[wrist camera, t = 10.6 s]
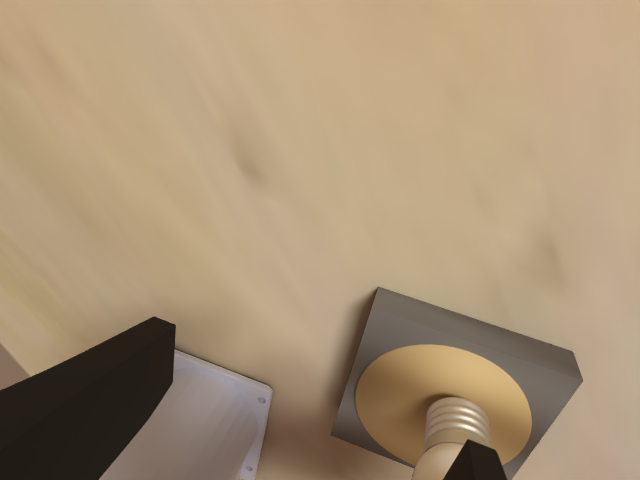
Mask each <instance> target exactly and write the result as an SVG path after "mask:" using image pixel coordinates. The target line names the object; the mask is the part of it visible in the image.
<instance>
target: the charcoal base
mask: <svg viewBox="0 0 640 480" xmlns="http://www.w3.org/2000/svg"><path fill="white" fill-rule="evenodd" d="M582 382H583V379H582V376H581V373H580V370H579V367H578V365H577V362H576V359H575V356H574V353H573V352H572V351H569V350H566V349H563V348H560V347H557V346H554V345H551V344H548V343H545V342H542V341H539V340H536V339H533V338H530V337H527V336H524V335H521V334H518V333H515V332H512V331H509V330H506V329H503V328H500V327H497V326H494V325H491V324H488V323H485V322H482V321H479V320H476V319H473V318H470V317H467V316H464V315H461V314H458V313H455V312H452V311H449V310H446V309H443V308H440V307H437V306H434V305H431V304H428V303H425V302H422V301H419V300H416V299H413V298H410V297H407V296H404V295H401V294H398V293H395V292H392V291H389V290H386V289H383V288H380V287H378V290H377V293H376V296H375V299H374V302H373V305H372V308H371V311H370V314H369V317H368V320H367V323H366V327H365V330H364V333H363V336H362V339H361V342H360V345H359V348H358V351H357V354H356V357H355V360H354V364H353V367H352V370H351V373H350V376H349V379H348V382H347V385H346V388H345V391H344V394H343V397H342V400H341V404H340V407H339V410H338V413H337V416H336V419H335V422H334V425H333V429H332V432H331V435H332V436H334V437H337V438H339V439H342V440H344V441H347V442H349V443H352V444H354V445H357V446H359V447H362V448H364V449H367V450H369V451H372V452H374V453H377V454H379V455H382V456H384V457H387V458H389V459H392V460H394V461H397V462H399V463H402V464H404V465H407V466H409V467H412V468H414V469H415V466H416V464H417V462H418V461H419V459H420V458H421V456H422V455H423V449H424V439H425V430H426V415H427V411H428V408H429V407H430V406H431V405H432V404H433V403H434V402H436V401H437V400H440V399H443V398H449V397H456V398H462V399H466V400H469V401H471V402H473V403H475V404H477V405H478V406H480V407H481V408H482V409H483V410H484V411H485V413H486V414H487V416H488V419H489V427H490V436H491V441H490V442H491V448H492V449H495V450H496V451H497V453H498V455H499V458H500V461H501V463H502V466H503V469H504V472H505V474H506V477H507V480H512V478H513V477H514V476H515V474H516V473H517V471H518V470H519V469H520V467H521V466H522V465H523V463H524V462H525V460H526V459H527V458H528V456H529V455H530V453H531V452H532V451H533V449H534V448H535V447H536V445H537V444H538V442H539V441H540V440H541V438H542V437H543V436H544V434H545V433H546V431H547V430H548V429H549V427H550V426H551V425H552V423H553V422H554V420H555V419H556V418H557V416H558V415H559V413H560V412H561V411H562V409H563V408H564V407H565V405H566V404H567V402H568V401H569V400H570V398H571V397H572V396H573V394H574V393H575V391H576V390H577V389H578V387H579V386H580V385H581V383H582Z"/></svg>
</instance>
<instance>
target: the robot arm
mask: <svg viewBox="0 0 640 480" xmlns="http://www.w3.org/2000/svg"><path fill="white" fill-rule="evenodd" d="M175 330H176V325H175V324H172V323H169V322H167V321H164V320H162V319H159V318H157V317H152V318H150V319H148V320H146V321H144V322H142V323H140V324H138V325H136V326H134V327H132V328H130V329H128V330H126V331H124V332H122V333H120V334H118V335H116V336H114V337H112V338H110V339H108V340H107V341H105V342H103V343H101V344H99V345H97V346H95V347H93V348H91V349H89V350H87V351H85V352H83V353H81V354H79V355H76V356H74V357H72V358H70V359H68V360H66V361H64V362H62V363H60V364H58V365H56V366H54V367H52V368H50V369H47V370H45V371H43V372H41V373H39V374H36V375H34V376H32V377H30V378H27V379H25V380H23V381H21V382H18V383H16V384H14V385H12V386H9V387H8V388H5V389H2V390H0V480H239V478H242V479H245V480H254V479H255V477H256V474H257V469H258V464H259V460H260V455H261V450H262V445H263V440H264V435H265V430H266V425H267V420H268V415H269V410H270V405H271V400H272V395H273V391H272V389H271V388H270V387H269V386H268V385H265V384H263V383H260V382H258V381H255V380H253V379H250V378H247V377H245V376H242V375H240V374H237V373H235V372H232V371H230V370H227V369H224V368H222V367H219V366H217V365H214V364H212V363H209V362H206V361H204V360H201V359H199V358H196V357H194V356H191V355H189V354H186V353H183V352H181V351H178V350H176V349H175ZM443 480H507V477H506V474H505V472H504V469H503V466H502V463H501V461H500V458H499V455H498V453H497V451H496V450H495V449H492V448H490V447H487V446H485V445H482V444H480V443H477V442H475V441H472V440H469V439H467V441H466V442H465V444H464V446H463V447H462V449H461V451H460V452H459V454H458V455H457V457H456V459H455V460H454V462H453V464H452V465H451V467H450V469H449V470H448V472H447V473H446V475H445V477H444V478H443Z"/></svg>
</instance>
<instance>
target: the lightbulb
mask: <svg viewBox="0 0 640 480" xmlns="http://www.w3.org/2000/svg"><path fill="white" fill-rule="evenodd" d="M467 439H469V440H472V441H475V442H477V443H480V444H482V445H485V446H487V447H490V448H491V442H490V441H491V436H490V427H489V419H488V416H487V414H486V413H485V411H484V410H483V409H482V408H481V407H480V406H478V405H477V404H475V403H473V402H471V401H469V400H466V399H462V398H456V397H449V398H443V399H440V400H437V401H436V402H434V403H433V404H432V405H431V406H430V407H429V408H428V411H427V415H426V430H425V439H424V449H423V455H422V456H421V458H420V459H419V461H418V462H417V464H416V466H415V469H414V471H413V474H412V478H411V480H443V478H444V477H445V475H446V473H447V472H448V470H449V469H450V467H451V465H452V464H453V462H454V460H455V459H456V457H457V455H458V454H459V452H460V451H461V449H462V447H463V446H464V444H465V442H466V441H467Z"/></svg>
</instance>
